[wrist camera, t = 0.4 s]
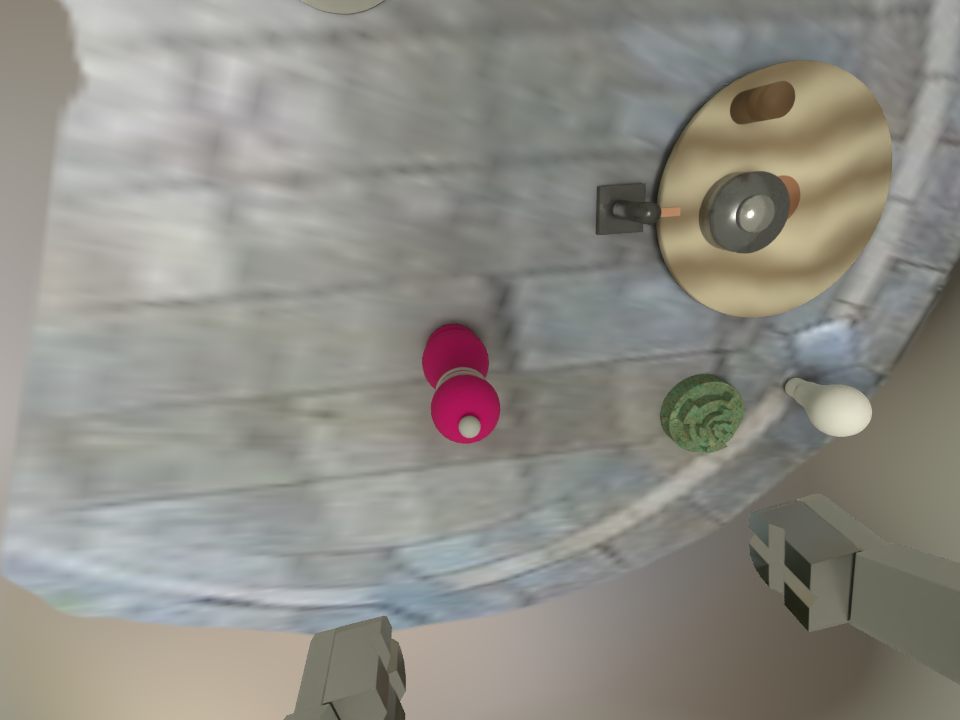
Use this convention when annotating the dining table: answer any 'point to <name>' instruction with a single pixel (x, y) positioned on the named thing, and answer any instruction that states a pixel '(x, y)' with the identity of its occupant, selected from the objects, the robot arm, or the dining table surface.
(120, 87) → the dining table surface
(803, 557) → the robot arm
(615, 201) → the pointer
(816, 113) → the turntable
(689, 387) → the decorative artifact
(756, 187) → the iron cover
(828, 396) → the lightbulb
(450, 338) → the pepper mill
